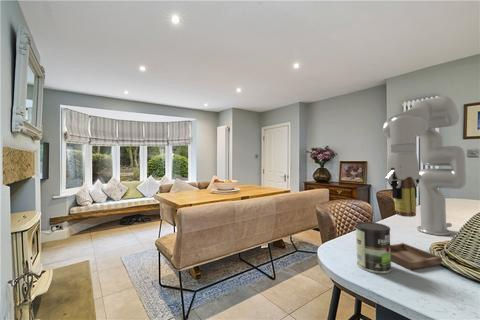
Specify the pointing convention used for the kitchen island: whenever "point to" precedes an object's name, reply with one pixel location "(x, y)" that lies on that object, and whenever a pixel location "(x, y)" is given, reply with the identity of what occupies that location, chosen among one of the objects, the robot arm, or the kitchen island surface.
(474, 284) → the kitchen island surface
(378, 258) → the coffee can
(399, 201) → the sauce bottle
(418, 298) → the kitchen island surface
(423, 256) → the tray
